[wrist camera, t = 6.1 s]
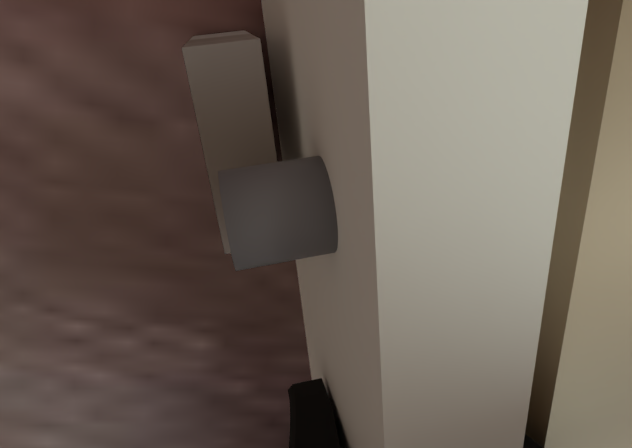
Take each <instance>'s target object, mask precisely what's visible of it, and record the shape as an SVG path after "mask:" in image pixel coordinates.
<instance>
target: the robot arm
mask: <svg viewBox="0 0 632 448" xmlns="http://www.w3.org/2000/svg"><path fill="white" fill-rule="evenodd" d="M288 392H289V399H290V442H289V448H340V443H339V438H338V433H337V428H336V423H335V418H334V413H333V408H332V404H331V402H330V399H329V396H328V393H327V390H326V388H325V385H324V383H323V380H322V378H319V379H315V380H310V381H306V382H302V383H297V384H293V385H292V386H291V387H290V388H289V389H288ZM523 448H543V447H542V446H541V445H539V444H538V443H537V442H535V441H534V440H533V439H532V438H530V437H529V436H528V435H526V434H525V437H524V444H523Z"/></svg>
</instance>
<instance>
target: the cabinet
mask: <svg viewBox="0 0 632 448" xmlns="http://www.w3.org/2000/svg"><path fill="white" fill-rule="evenodd" d="M182 52H183V57H184V62H185V67H186V72H187V76H188V81H189V86H190V91H191V95H192V100H193V105H194V110H195V114H196V119H197V124H198V129H199V134H200V138H201V143H202V148H203V153H204V157H205V162H206V167H207V172H208V177H209V181H210V186H211V191H212V196H213V200H214V205H215V210H216V215H217V220H218V224H219V229H220V234H221V239H222V243H223V248H224V253H225V254H229V253H231V250H230V246H229V241H228V236H227V230H226V225H225V219H224V214H223V208H222V201H221V195H220V187H219V179H218V171H221V170H228V169H234V168H241V167H247V166H254V165H260V164H267V163H273V162H277V157H276V149H275V142H274V135H273V128H272V120H271V113H270V106H269V99H268V91H267V84H266V77H265V70H264V63H263V55H262V48H261V41H260V38H258V37H256V36H254V35H252V34H250V33H249V32H247V31H245V30H242V31H234V32H225V33H216V34H207V35H198V36H193V37H192V38H191V39H190V40H189V41H188V42H187V43H186V44H185V45H184V46H183V47H182ZM525 434H526V435H528V436H529V437H530V438H532V439H533V440H534V441H535V442H537V443H538V444H539V445H541V446H542V447H543V448H632V0H588V7H587V14H586V20H585V27H584V34H583V41H582V48H581V55H580V61H579V68H578V75H577V82H576V89H575V95H574V102H573V109H572V116H571V123H570V130H569V136H568V143H567V150H566V157H565V164H564V171H563V177H562V184H561V191H560V198H559V205H558V211H557V218H556V225H555V232H554V239H553V246H552V252H551V259H550V266H549V273H548V280H547V287H546V293H545V300H544V307H543V314H542V321H541V328H540V334H539V341H538V348H537V355H536V362H535V368H534V375H533V382H532V389H531V396H530V403H529V409H528V416H527V423H526V430H525Z"/></svg>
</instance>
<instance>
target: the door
mask: <svg viewBox="0 0 632 448" xmlns="http://www.w3.org/2000/svg"><path fill="white" fill-rule="evenodd" d="M261 4H262V11H263V19H264V26H265V34H266V41H267V49H268V56H269V64H270V71H271V79H272V86H273V94H274V101H275V109H276V116H277V124H278V131H279V139H280V146H281V154H282V161H280V162H273V163H267V164H260V165H254V166H247V167H241V168H234V169H228V170H221V171H218V179H219V187H220V195H221V201H222V208H223V214H224V219H225V225H226V230H227V236H228V241H229V246H230V250H231V255H232V259H233V263H234V267H235V270H236V271H238V270H244V269H249V268H254V267H260V266H265V265H271V264H276V263H281V262H287V261H292V260H296V266H297V274H298V281H299V289H300V296H301V304H302V311H303V319H304V326H305V334H306V341H307V349H308V356H309V364H310V371H311V379H312V380H315V379H319V378H322V380H323V383H324V385H325V388H326V390H327V393H328V396H329V399H330V402H331V404H332V408H333V413H334V418H335V423H336V428H337V433H338V438H339V443H340V448H523V444H524V437H525V430H526V423H527V416H528V409H529V403H530V396H531V389H532V382H533V375H534V368H535V362H536V355H537V348H538V341H539V334H540V328H541V321H542V314H543V307H544V300H545V293H546V287H547V280H548V273H549V266H550V259H551V252H552V246H553V239H554V232H555V225H556V218H557V211H558V205H559V198H560V191H561V184H562V177H563V171H564V164H565V157H566V150H567V143H568V136H569V130H570V123H571V116H572V109H573V102H574V95H575V89H576V82H577V75H578V68H579V61H580V55H581V48H582V41H583V34H584V27H585V20H586V14H587V7H588V0H261Z"/></svg>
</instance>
